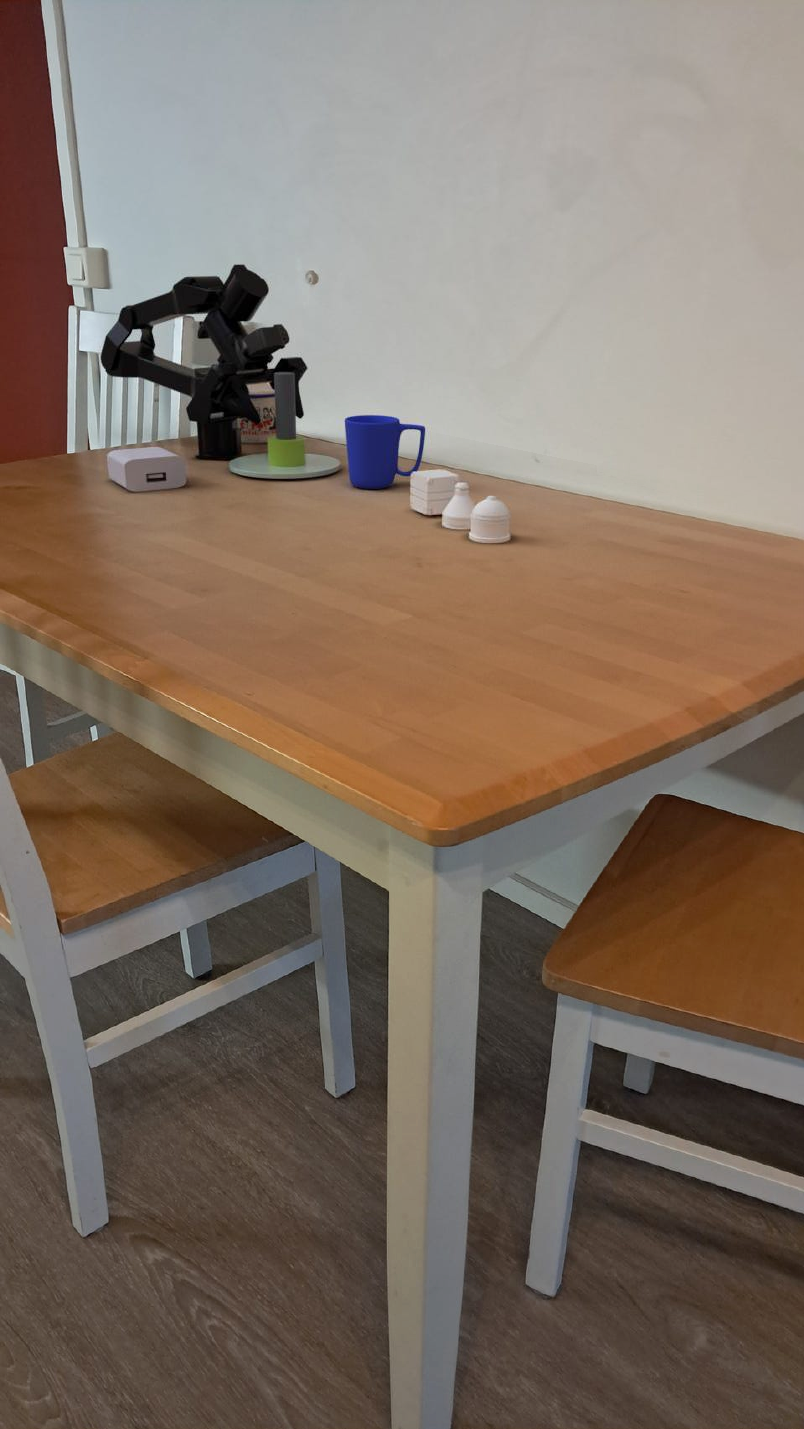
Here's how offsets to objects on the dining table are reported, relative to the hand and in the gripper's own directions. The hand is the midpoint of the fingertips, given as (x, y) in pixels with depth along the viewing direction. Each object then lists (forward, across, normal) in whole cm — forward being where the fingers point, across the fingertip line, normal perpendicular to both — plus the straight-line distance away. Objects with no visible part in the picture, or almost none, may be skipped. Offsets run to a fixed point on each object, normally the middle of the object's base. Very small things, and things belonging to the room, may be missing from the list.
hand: (280, 419), depth 171 cm
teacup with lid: (-11, +17, +22) cm, 30 cm away
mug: (+20, +2, -9) cm, 22 cm away
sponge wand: (+6, 0, +4) cm, 7 cm away
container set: (+37, -9, -26) cm, 46 cm away
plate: (+6, 0, +5) cm, 8 cm away
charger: (0, -21, +12) cm, 25 cm away
